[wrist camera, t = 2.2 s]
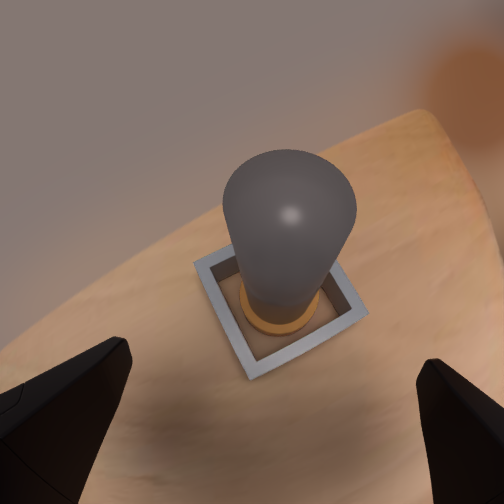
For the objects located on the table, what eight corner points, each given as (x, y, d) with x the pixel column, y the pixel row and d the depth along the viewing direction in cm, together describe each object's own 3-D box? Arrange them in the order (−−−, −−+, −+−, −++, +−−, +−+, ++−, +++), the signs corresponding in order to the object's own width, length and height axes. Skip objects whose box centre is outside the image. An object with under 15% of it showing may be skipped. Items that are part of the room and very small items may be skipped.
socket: (252, 378, 18) (250, 380, 15) (203, 277, 21) (193, 262, 18) (355, 322, 19) (369, 313, 16) (299, 230, 22) (303, 209, 19)
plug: (262, 349, 18) (253, 314, 7) (230, 286, 20) (183, 174, 9) (327, 314, 19) (402, 230, 8) (292, 255, 21) (313, 123, 10)
